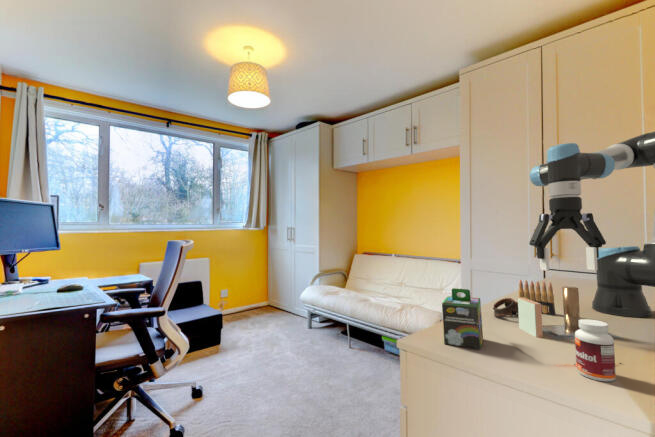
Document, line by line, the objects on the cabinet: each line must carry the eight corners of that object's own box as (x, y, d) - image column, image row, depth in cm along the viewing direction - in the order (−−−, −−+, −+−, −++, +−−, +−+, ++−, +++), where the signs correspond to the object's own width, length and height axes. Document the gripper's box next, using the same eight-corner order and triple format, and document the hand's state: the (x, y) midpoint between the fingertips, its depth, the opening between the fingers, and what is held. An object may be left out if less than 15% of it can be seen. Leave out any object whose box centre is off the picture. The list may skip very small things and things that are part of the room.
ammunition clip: (518, 312, 110) (516, 279, 110) (520, 311, 111) (518, 279, 111) (554, 318, 102) (552, 282, 103) (555, 317, 103) (553, 282, 104)
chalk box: (483, 339, 85) (480, 286, 86) (481, 350, 77) (478, 292, 78) (448, 334, 90) (446, 284, 90) (443, 344, 82) (440, 289, 82)
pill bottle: (569, 369, 66) (566, 318, 66) (594, 367, 66) (591, 317, 67) (597, 383, 60) (593, 327, 60) (625, 381, 60) (621, 325, 61)
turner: (585, 326, 90) (583, 284, 91) (610, 336, 82) (607, 289, 83) (538, 327, 91) (536, 285, 91) (558, 336, 83) (555, 290, 83)
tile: (524, 330, 91) (522, 297, 91) (542, 340, 83) (541, 303, 83) (518, 330, 91) (517, 297, 91) (536, 340, 83) (534, 303, 83)
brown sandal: (533, 327, 95) (518, 305, 95) (503, 335, 100) (489, 314, 100) (528, 308, 105) (515, 288, 106) (501, 317, 110) (489, 298, 111)
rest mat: (587, 327, 92) (586, 324, 92) (624, 341, 80) (624, 338, 80) (527, 328, 93) (527, 325, 93) (556, 342, 81) (556, 339, 81)
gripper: (530, 196, 85) (533, 272, 84) (620, 195, 84) (624, 271, 83) (514, 199, 92) (517, 268, 91) (596, 198, 92) (600, 267, 91)
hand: (568, 270), depth 87 cm, fingers open, 13 cm apart
